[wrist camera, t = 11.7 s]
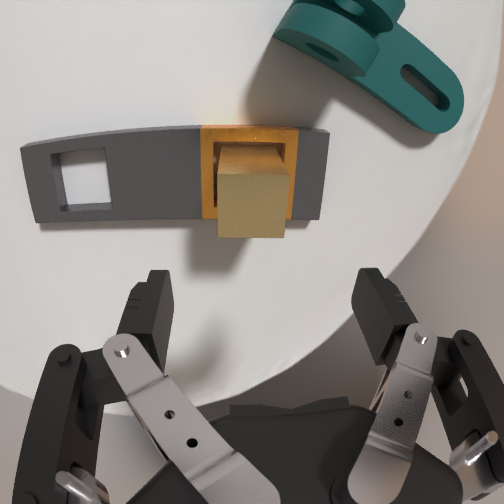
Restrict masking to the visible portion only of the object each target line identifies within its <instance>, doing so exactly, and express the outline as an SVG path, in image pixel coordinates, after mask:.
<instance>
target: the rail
mask: <svg viewBox="0 0 504 504" xmlns="http://www.w3.org/2000/svg"><path fill="white" fill-rule="evenodd" d="M329 136H330V133H329V132H328V131H326V130H324V129H312V128H298V127H281V126H257V125H192V126H167V127H151V128H137V129H125V130H115V131H106V132H97V133H89V134H82V135H75V136H68V137H61V138H55V139H49V140H44V141H38V142H33V143H28V144H26V145H24V146H22V147H21V148H20V151H21V157H22V163H23V169H24V174H25V179H26V184H27V189H28V193H29V198H30V202H31V206H32V211H33V214H34V218H35V222H36V223H49V222H73V221H102V220H144V219H218V216H217V200H215V192H214V141H236V142H276V143H283V144H282V158H281V160H282V162H283V163H284V165H285V167H286V169H287V171H288V173H289V175H290V179H289V190H288V201H287V211H286V219H297V220H319V217H320V210H321V203H322V195H323V187H324V180H325V172H326V163H327V154H328V145H329ZM102 147H105V150H106V159H107V168H108V176H109V183H110V191H111V197H112V202H111V203H90V204H73V205H68V204H67V199H66V194H65V188H64V183H63V177H62V171H61V165H60V158H59V153H60V152H67V151H75V150H83V149H92V148H102Z"/></svg>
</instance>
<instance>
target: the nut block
mask: <svg viewBox="0 0 504 504" xmlns="http://www.w3.org/2000/svg"><path fill="white" fill-rule="evenodd" d="M289 179H290V175H289V173H288V171H287V169H286V167H285V165H284V163H283V162H282V160H281V158H280V156H279V154H278V152H277V150H276V148H275V147H271V146H235V145H222V147H221V153H220V160H219V166H218V173H217V216H218V238H284V232H285V222H286V211H287V201H288V190H289Z"/></svg>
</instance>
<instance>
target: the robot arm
mask: <svg viewBox="0 0 504 504" xmlns="http://www.w3.org/2000/svg"><path fill="white" fill-rule="evenodd" d="M351 303H352V309H353V311H354V314H355V316H356V318H357V321H358V323H359V325H360V328H361V330H362V333H363V335H364V337H365V340H366V342H367V345H368V347H369V350H370V352H371V355H372V357H373V360H374V362H375V364H376V365H383V364H386V366H387V370H386V371H385V373H384V376H383V378H382V381H381V383H380V385H379V388H378V390H377V393H376V395H375V397H374V399H373V402H372V404H371V406H370V408H369V409H366V408H364V407H360V406H357V405H351V404H349V402H348V398H347V397H338V398H331V399H322V400H318V401H315V402H312V403H309V404H306V405H303V406H300V407H297V408H294V409H286V408H279V407H273V406H266V405H261V404H258V405H230V413H229V414H224V415H221V416H219V417H216V418H214V419H212V420H210V421H209V422H207V420H206V419H205V418H204V417H203V416H202V415H201V414H200V412H199V411H198V410H197V409H196V408H195V406H194V405H193V404H192V403H191V402H190V400H189V399H188V398H187V397H186V396H185V394H184V393H183V392H182V391H181V390H180V388H179V387H178V386H177V385H176V383H175V382H174V381H173V380H172V378H171V377H170V376H168V375H166V376H164V369H165V362H166V356H167V349H168V343H169V337H170V331H171V325H172V319H173V313H174V299H173V293H172V286H171V279H170V273H169V270H151V271H150V273H149V276H148V279H147V282H138V283H137V284H136V285H135V286H134V288H133V289H132V290H131V292H130V294H129V297H128V301H127V303H126V306H125V309H124V312H123V315H122V318H121V321H120V324H119V327H118V330H117V333H116V335H115V336H113V337H111V338H109V339H108V340H107V341H106V342H105V344H104V346H103V348H101V349H98V350H93V351H88V352H83V353H81V351H80V350H79V348H78V347H76V346H75V345H72V344H64V345H60V346H58V347H56V348H55V349H54V350H53V351H52V352H51V353H50V354H49V356H48V359H47V362H46V365H45V367H44V370H43V373H42V376H41V379H40V382H39V385H38V389H37V392H36V395H35V398H34V402H33V405H32V409H31V413H30V416H29V420H28V423H27V427H26V431H25V435H24V439H23V443H22V448H21V452H20V457H19V461H18V467H17V472H16V477H15V483H14V489H13V496H12V504H110V502H109V494H108V491H107V489H106V487H105V486H104V485H103V484H102V483H101V482H100V481H98V480H97V479H96V478H95V471H96V461H97V453H98V444H99V437H100V430H101V423H102V417H103V410H104V405H105V404H111V403H116V402H121V401H126V402H127V404H128V405H129V407H130V409H131V410H132V412H133V413H134V415H135V416H136V418H137V420H138V421H139V423H140V424H141V425H142V427H143V429H144V430H145V431H146V433H147V435H148V436H149V438H150V439H151V440H152V442H153V444H154V445H155V447H156V448H157V450H158V451H159V452H160V454H161V455H162V457H163V458H164V459H165V461H166V462H167V463H166V464H165V465H164V466H163V467H162V469H160V470H159V471H158V472H157V473H156V475H154V476H153V477H152V478H151V479H150V480H149V481H148V483H147V484H146V485H144V486H143V488H141V489H140V490H139V491H138V493H136V494H135V495H134V496H133V497H132V498H131V499H130V500H129V501H128V502H127V503H126V504H462V502H464V501H467V500H469V499H470V500H474V501H476V500H480V499H482V498H484V497H485V496H487V495H489V494H491V493H492V492H494V491H496V490H497V489H499V488H501V487H503V486H504V384H503V382H502V380H501V378H500V376H499V374H498V372H497V371H496V369H495V367H494V365H493V363H492V361H491V359H490V358H489V356H488V354H487V352H486V350H485V349H484V347H483V346H482V343H481V342H480V340H479V338H478V337H477V336H476V335H475V334H474V333H472V332H470V331H467V330H459V331H457V332H456V333H455V335H454V336H453V338H445V337H438V336H437V335H436V333H435V332H434V330H432V329H431V328H430V327H429V326H427V325H425V324H422V323H418V321H417V319H416V317H415V316H414V314H413V312H412V311H411V309H410V307H409V306H408V304H407V302H405V299H404V297H403V296H402V295H401V293H400V291H399V289H398V288H397V286H396V285H395V284H394V283H392V282H391V281H390V280H389V279H384V277H383V275H382V274H381V272H380V271H379V269H378V268H361V269H360V270H359V272H358V275H357V279H356V283H355V286H354V290H353V294H352V300H351ZM461 377H462V378H463V380H464V382H465V384H466V386H467V389H468V397H467V396H466V394H465V391H464V389H463V387H462V385H461V383H460V378H461ZM430 392H431V393H432V395H433V398H434V401H435V403H436V406H437V409H438V412H439V414H440V417H441V419H442V423H443V426H444V428H445V431H446V434H447V437H448V440H449V443H450V446H451V449H452V453H451V455H450V459H449V462H450V464H449V465H447V464H445V463H444V462H442V461H441V460H440V459H438V458H436V457H435V456H434V455H432V454H431V453H430V452H428V451H427V450H425V449H424V448H422V447H421V446H420V445H418V444H417V443H416V439H417V436H418V433H419V430H420V427H421V424H422V420H423V417H424V414H425V410H426V407H427V403H428V399H429V396H430Z"/></svg>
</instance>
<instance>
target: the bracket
mask: <svg viewBox="0 0 504 504" xmlns="http://www.w3.org/2000/svg"><path fill="white" fill-rule="evenodd" d="M404 8H405V0H294V1H293V3H292V4H291V6H290V7H289V9H288V11H287V12H286V14H285V16H284V17H283V19H282V20H281V22H280V24H279V25H278V27H277V29H276V30H275V32H274V34H273V37H275V38H277V39H279V40H281V41H283V42H285V43H287V44H289V45H291V46H293V47H295V48H297V49H298V50H300V51H302V52H304V53H306V54H308V55H309V56H311V57H313V58H315V59H316V60H318V61H320V62H322V63H323V64H325V65H327V66H328V67H330V68H332V69H333V70H335V71H337V72H338V73H340V74H341V75H343V76H345V77H346V78H348V79H349V80H351V81H352V82H354V83H355V84H357V85H358V86H360V87H361V88H363V89H364V90H366V91H367V92H369V93H370V94H372V95H373V96H374V97H376V98H377V99H379V100H380V101H381V102H383V103H384V104H386V105H387V106H388V107H390V108H391V109H392V110H394V111H395V112H396V113H398V114H399V115H400V116H401V117H403V118H404V119H405V120H407V121H408V122H409V123H410V124H412V125H414V126H416V127H418V128H420V129H423V130H425V131H428V132H430V133H436V134H439V133H444V132H447V131H449V130H450V129H452V128H453V127H454V126H455V125H456V124H457V122H458V121H459V119H460V117H461V115H462V111H463V107H464V94H463V89H462V86H461V84H460V81H459V79H458V78H457V76H456V75H455V73H454V72H453V71H452V70H451V69H450V68H449V67H448V66H447V65H446V64H445V63H443V62H442V61H441V60H440V59H439V58H438V57H437V56H436V55H435V54H434V53H433V52H432V51H430V50H429V49H428V48H427V47H426V46H425V45H424V44H422V43H421V42H420V41H419V40H418V39H417V38H415V37H414V36H413V35H412V34H411V33H409V32H408V31H407V30H406V29H404V28H403V27H402V26H400V25H399V24H398V23H397V21H398V19H399V17H400V15H401V14H402V12H403V10H404ZM402 66H403V67H404V68H406V69H407V70H408V71H409V72H411V73H412V74H413V75H414V76H415V77H417V78H418V79H419V80H420V81H421V82H422V83H424V84H425V85H426V86H427V87H428V88H429V89H430V90H432V91H433V92H434V93H435V94H436V95H437V98H438V104H437V106H436V107H435V106H434V105H433V104H432V103H430V102H429V101H428V100H427V99H426V98H425V97H424V96H422V95H421V94H420V93H419V92H418V91H416V90H415V89H414V88H413V87H412V86H410V85H409V84H408V83H407V82H406V81H404V80H403V79H402V77H401V74H400V70H401V67H402Z"/></svg>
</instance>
